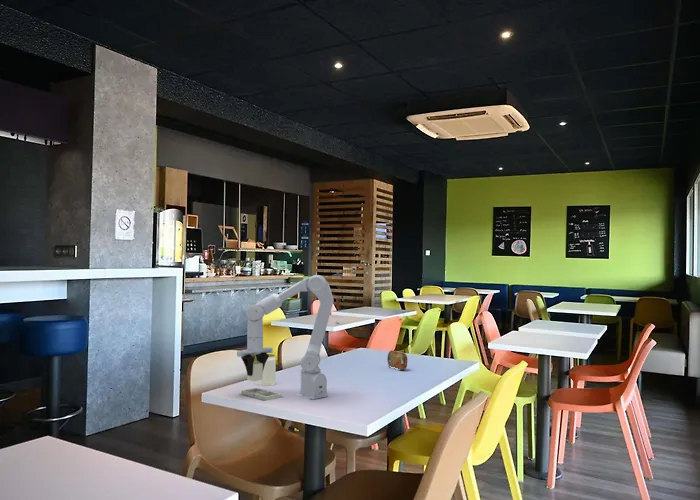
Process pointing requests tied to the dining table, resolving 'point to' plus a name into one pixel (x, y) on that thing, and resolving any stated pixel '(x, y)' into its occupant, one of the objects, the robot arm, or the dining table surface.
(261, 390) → the grey divided tray
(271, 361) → the can
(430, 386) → the dining table surface
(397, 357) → the tin
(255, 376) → the plug
